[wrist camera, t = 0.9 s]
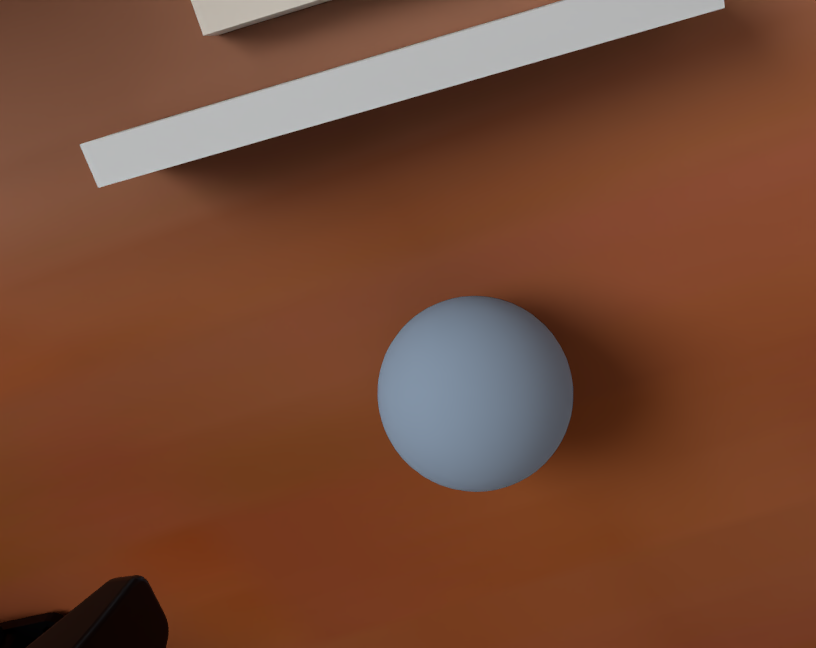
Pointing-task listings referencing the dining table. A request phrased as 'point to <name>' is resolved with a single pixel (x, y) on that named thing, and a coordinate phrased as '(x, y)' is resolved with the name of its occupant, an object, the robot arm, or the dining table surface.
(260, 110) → the wall
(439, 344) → the ball
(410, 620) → the dining table surface
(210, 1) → the coaster
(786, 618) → the dining table surface
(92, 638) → the robot arm
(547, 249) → the dining table surface
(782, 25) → the dining table surface
